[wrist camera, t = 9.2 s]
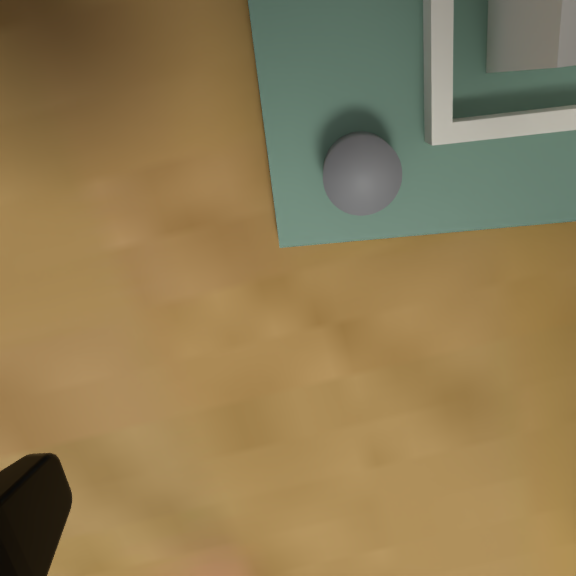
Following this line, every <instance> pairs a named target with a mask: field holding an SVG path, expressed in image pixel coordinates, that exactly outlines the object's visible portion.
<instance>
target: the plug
mask: <svg viewBox="0 0 576 576" xmlns="http://www.w3.org/2000/svg"><path fill="white" fill-rule="evenodd" d="M574 65H576V0H488V25H487V59H486V73H494V72H507V71H520V70H534V69H547V68H559V67H567V66H574Z"/></svg>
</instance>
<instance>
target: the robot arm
mask: <svg viewBox="0 0 576 576" xmlns="http://www.w3.org/2000/svg"><path fill="white" fill-rule="evenodd" d="M71 504H72V493H71V489H70V487H69V484H68V481H67V478H66V476H65V473H64V470H63V468H62V465H61V462H60V460H59V458H58V457H57V456H56V455H55V454H52V453H38V454H29V455H26V456H24V457H23V458H21V459H19V460H18V461H16V462H15V463H13V464H11V465H10V466H8V467H7V468H5V469H3V470H2V471H0V576H47V574H48V571H49V568H50V566H51V563H52V560H53V557H54V554H55V551H56V549H57V546H58V543H59V540H60V537H61V535H62V532H63V529H64V526H65V523H66V521H67V518H68V515H69V512H70V509H71Z"/></svg>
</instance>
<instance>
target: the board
mask: <svg viewBox="0 0 576 576" xmlns="http://www.w3.org/2000/svg"><path fill="white" fill-rule="evenodd" d="M248 6H249V13H250V21H251V29H252V37H253V44H254V52H255V60H256V68H257V75H258V83H259V91H260V99H261V106H262V114H263V122H264V129H265V137H266V145H267V153H268V160H269V168H270V176H271V184H272V191H273V199H274V207H275V215H276V222H277V230H278V238H279V246H280V248H283V247H294V246H305V245H316V244H327V243H338V242H349V241H361V240H372V239H383V238H394V237H405V236H416V235H427V234H438V233H450V232H461V231H472V230H483V229H494V228H505V227H516V226H527V225H539V224H550V223H561V222H572V221H576V65H574V66H567V67H559V68H547V69H534V70H520V71H507V72H494V73H486V59H487V25H488V0H248Z"/></svg>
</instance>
